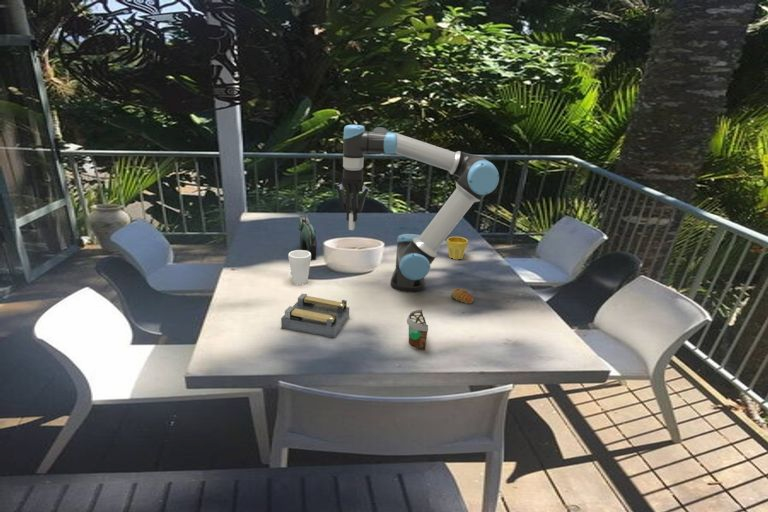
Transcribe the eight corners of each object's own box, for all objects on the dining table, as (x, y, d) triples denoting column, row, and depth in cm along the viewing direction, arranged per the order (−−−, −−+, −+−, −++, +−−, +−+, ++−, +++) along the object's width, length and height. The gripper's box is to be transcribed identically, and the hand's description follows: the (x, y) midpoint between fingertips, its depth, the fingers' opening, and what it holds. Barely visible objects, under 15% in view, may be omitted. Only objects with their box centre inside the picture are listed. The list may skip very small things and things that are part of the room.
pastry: (477, 302, 200) (478, 293, 199) (466, 306, 196) (467, 298, 195) (460, 293, 207) (461, 285, 205) (449, 298, 203) (450, 289, 201)
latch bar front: (335, 319, 170) (335, 315, 169) (332, 323, 167) (332, 319, 167) (294, 311, 173) (295, 307, 173) (291, 315, 170) (291, 311, 170)
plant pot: (443, 259, 244) (444, 240, 240) (448, 252, 253) (450, 235, 249) (463, 263, 240) (465, 244, 237) (467, 256, 249) (469, 238, 246)
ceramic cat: (297, 247, 249) (296, 210, 242) (309, 246, 252) (309, 209, 244) (307, 261, 232) (307, 221, 225) (320, 260, 235) (320, 220, 228)
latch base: (349, 316, 183) (349, 300, 180) (334, 338, 168) (334, 320, 165) (300, 308, 187) (299, 292, 185) (281, 328, 172) (280, 311, 169)
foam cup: (306, 287, 205) (306, 259, 200) (285, 284, 206) (285, 256, 202) (313, 279, 213) (313, 251, 209) (294, 276, 215) (293, 249, 210)
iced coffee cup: (403, 333, 173) (405, 308, 169) (420, 333, 173) (422, 308, 170) (407, 352, 161) (409, 326, 158) (425, 352, 162) (428, 326, 158)
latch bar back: (345, 306, 180) (345, 302, 179) (342, 310, 177) (343, 306, 177) (307, 299, 183) (307, 295, 183) (303, 302, 180) (304, 298, 180)
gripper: (372, 168, 181) (370, 228, 189) (339, 164, 184) (338, 224, 192) (367, 171, 174) (365, 233, 183) (333, 168, 177) (332, 229, 185)
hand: (351, 228), depth 187 cm, fingers closed
